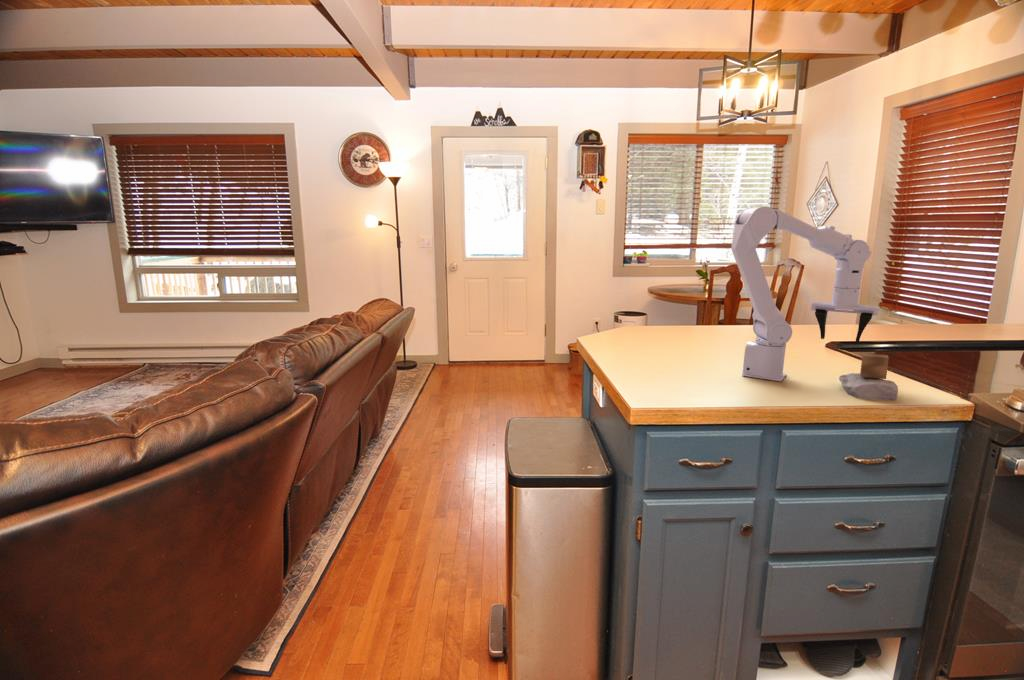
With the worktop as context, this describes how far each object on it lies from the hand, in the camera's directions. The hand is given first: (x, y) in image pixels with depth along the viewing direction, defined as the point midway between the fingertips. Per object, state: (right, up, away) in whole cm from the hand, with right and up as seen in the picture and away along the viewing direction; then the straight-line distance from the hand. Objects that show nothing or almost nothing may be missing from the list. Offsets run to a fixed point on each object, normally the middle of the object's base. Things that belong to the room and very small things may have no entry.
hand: (839, 340), depth 136 cm
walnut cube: (+1, -9, -11) cm, 14 cm away
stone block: (0, -13, -10) cm, 16 cm away
